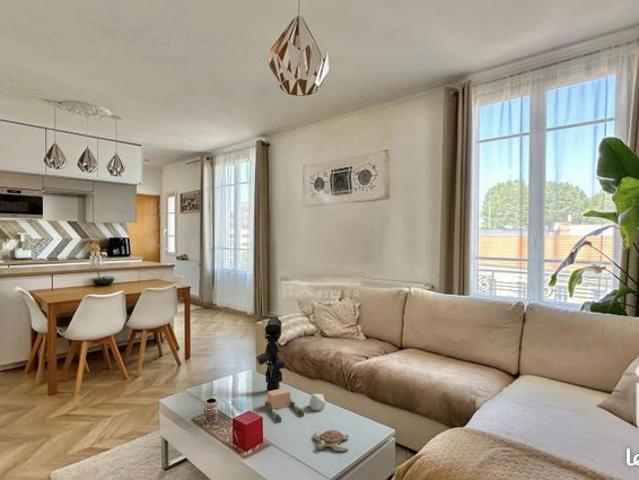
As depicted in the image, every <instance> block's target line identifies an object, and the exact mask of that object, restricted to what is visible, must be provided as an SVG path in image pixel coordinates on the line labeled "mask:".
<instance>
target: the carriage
mask: <svg viewBox="0 0 639 480" xmlns="http://www.w3.org/2000/svg"><path fill="white" fill-rule="evenodd" d="M266 392H267V396H266V397H267V398H266V399H267V402H268V403H269V405H270V406H271V407H272V408H273V409H274V410H275V411H276V410H278V409H283V408H287V407H290V406H291V405H290V399H291V391H290V390H289V389H287V388H286V387H282V388H279V389H277V390H273V391H266Z"/></svg>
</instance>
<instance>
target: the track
mask: <svg viewBox="0 0 639 480" xmlns="http://www.w3.org/2000/svg"><path fill="white" fill-rule="evenodd" d="M290 406H291V408H292V409H294V410H295V411H296V412H297V413H298V414H299V415H300V416H301V418H303V417H305V411H304V410H303V409H302V408H301V407H299V405H297V404H296V402H295V401H293V400H292V399H291V398H290ZM264 407H265V408H266V410H268V412H269V413H270V414H271V416H273V417H274V419H276V420H277V422H278V424H279V423H282V417H281V416H280V414H279V413H278V412H277V411H276V409H275V410H274V409H273V408H272V407H271V406H270V405H269V403H268V402H267V401H266V400H265V401H264Z"/></svg>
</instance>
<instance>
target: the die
mask: <svg viewBox="0 0 639 480" xmlns="http://www.w3.org/2000/svg"><path fill="white" fill-rule="evenodd" d="M308 403H309V406H310V409H311V410H313V411H323V410H324V409H325V406H326V404H327V403H326V400H325V397H324V395H323V393H312V394H311V397H310V400H309V402H308Z"/></svg>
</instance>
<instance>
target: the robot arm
mask: <svg viewBox="0 0 639 480" xmlns="http://www.w3.org/2000/svg"><path fill="white" fill-rule="evenodd" d="M264 330H265V331H264V339H265V340H266V346H265V347H266V348H265V350H264V351H265V352H263V353H261V354H259V355H257V356H256V361H257V363H258V365H260V366H262V365H264V364H265V365H266V366H267V367H266V370H265V383H267V384H266V390H265V392H268V391H273V390H277V389H281V388H280V383H281V382H282V381H283V373H282V371H281V370H282V369H285V367H286V363H284V362H283V361H282V360H280V357H279V353H280V351H281V350H280V349H279V340H280V339H281V337H282V321H281V319H279V316H271V317H269V319H268V320H267V323H266V326H265V328H264Z"/></svg>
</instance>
